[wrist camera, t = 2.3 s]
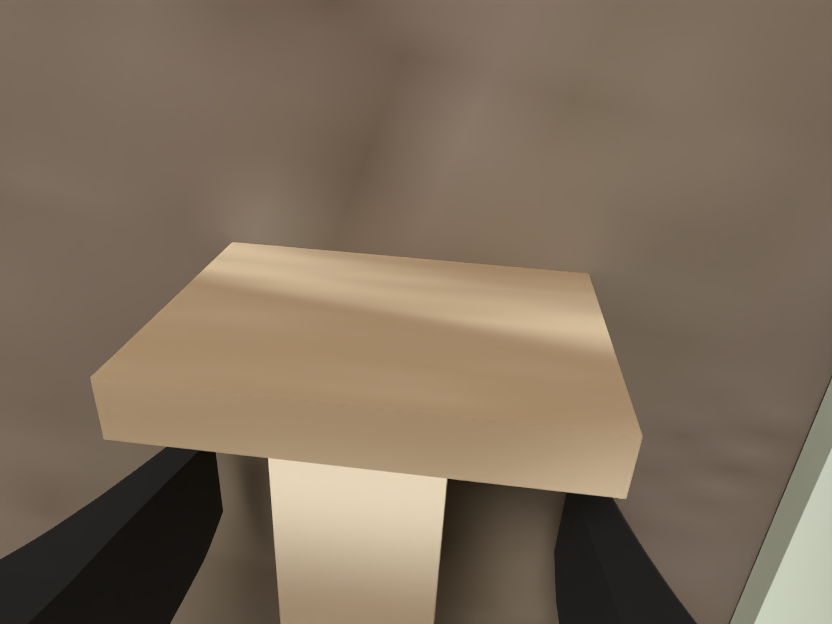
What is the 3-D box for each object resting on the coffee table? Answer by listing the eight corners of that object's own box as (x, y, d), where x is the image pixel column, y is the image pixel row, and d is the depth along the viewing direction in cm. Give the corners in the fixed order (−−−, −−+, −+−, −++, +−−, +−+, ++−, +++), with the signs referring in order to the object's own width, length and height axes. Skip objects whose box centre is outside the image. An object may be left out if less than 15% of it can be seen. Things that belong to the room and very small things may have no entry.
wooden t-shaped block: (532, 567, 16) (547, 793, 11) (258, 533, 16) (170, 736, 12) (588, 272, 12) (643, 437, 8) (233, 241, 13) (90, 377, 8)
